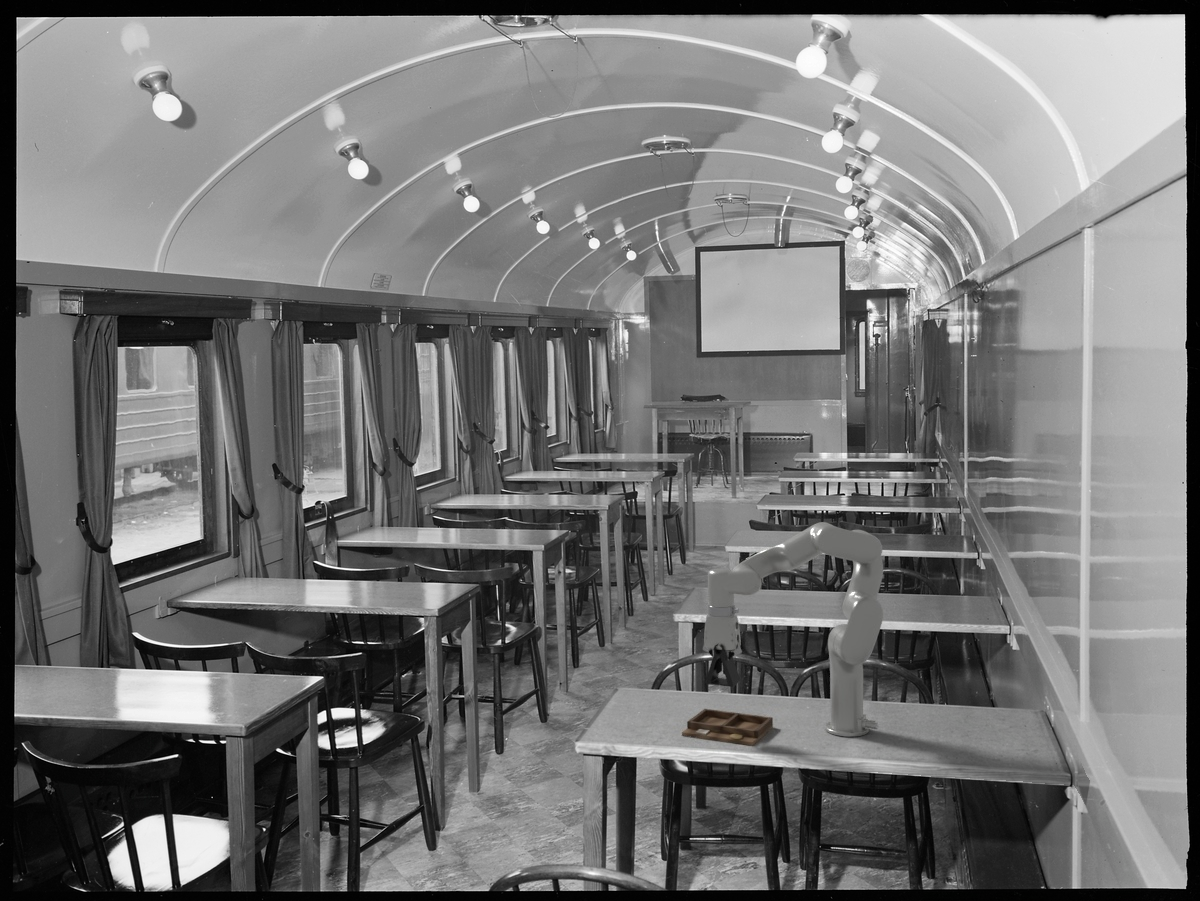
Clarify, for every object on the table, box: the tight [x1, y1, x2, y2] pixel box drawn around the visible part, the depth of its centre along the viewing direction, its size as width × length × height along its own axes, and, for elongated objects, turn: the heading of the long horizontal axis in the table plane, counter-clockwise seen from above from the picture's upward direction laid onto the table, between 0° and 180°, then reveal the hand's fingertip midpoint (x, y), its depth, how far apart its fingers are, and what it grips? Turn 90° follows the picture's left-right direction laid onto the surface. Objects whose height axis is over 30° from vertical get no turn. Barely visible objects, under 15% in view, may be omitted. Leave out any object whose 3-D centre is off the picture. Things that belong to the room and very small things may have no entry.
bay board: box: [681, 708, 774, 747], centre depth 319 cm, size 22×18×3 cm
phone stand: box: [704, 644, 742, 688], centre depth 315 cm, size 9×6×12 cm, turn 62°
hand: (722, 672), depth 315 cm, fingers closed on phone stand, 1 cm apart
